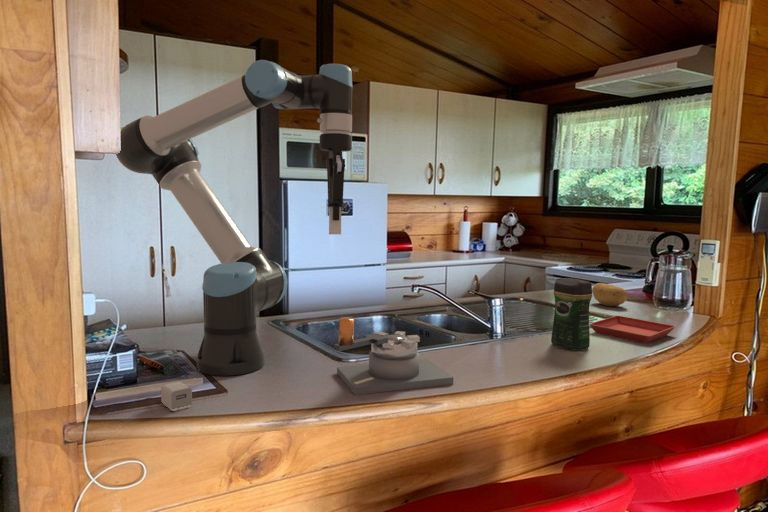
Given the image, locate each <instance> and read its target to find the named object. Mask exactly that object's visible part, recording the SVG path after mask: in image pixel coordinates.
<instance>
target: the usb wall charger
mask: <svg viewBox="0 0 768 512" xmlns="http://www.w3.org/2000/svg"><path fill="white" fill-rule="evenodd" d="M192 391H193V390H192V388H191V387H190V386H187V385H186V384H184V383H183V382H181V381H175V382H170V383H167V384H163V385H162V386H161V388H160V394H161V395H160V397H161V399H160V401H161V402H162V403H163V404H164V405H166V406H167V407H169V408H170V409H175V408H180V407H184V406H188V405H192V406H193V392H192ZM162 403H161V404H162ZM164 405H163V406H164Z"/></svg>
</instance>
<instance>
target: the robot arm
mask: <svg viewBox="0 0 768 512" xmlns="http://www.w3.org/2000/svg"><path fill="white" fill-rule="evenodd" d="M352 73H353V71H352V69H351V68H350V67H349V66H348V65H345V64H342V63H327V64H322V65H321V66H320V67H319V72H318V74H314V75H300V74H299V75H298V74H297V73H295V72H293V71H291V70H287V69H286V68H284V67H282V66H281V65H279V64H278V63H276V62H274V61H270V60H266V59H259V60H256V61H254V62H252V63H251V64H250V65H249V67H248V68H247V69H246V72H245V74H243V75H241V76H238V77H237V78H235V79H233V80H230V81H228V82H226V83H224V84H222V85H220V86H217V87H216V88H213V89H212V90H209V91H207V92H205V93H203V94H201V95H198V96H196V97H194V98H192V99H190V100H187V101H184V102H183V103H181V104H178V105H176V106H173V108H169V109H168V110H166V111H164V112H161V113H159V114H157V115H155V116H151V115H147V114H146V115H144V116H142V117H139V118H136V119H135V120H134V121H131V122H129V123H128V124H126V125H124V126H123V127H122V128H121V129H120V130H121V151H120V153H118V154H116V153H115V156H116V157H117V160H118V161H119V163H120V164H121V165H122V166H123V167H125V168H126V169H128V170H129V171H131V172H134V173H136V174H144V175H145V174H147V175H151V176H152V177H153V178H154V180H155V182H156V183H157V184H158V186H159V187H160V188H161V189H162V190H166V191H170V192H171V193H172V195H173V196H174V197H175V199H176V201H177V202H178V203H179V205H180V206H181V208H182V209H183V211H184V212H185V213H186V215H187V217H189V219H190V221H191V222H192V224H193V225H194V226H195V228H196V229H197V231H198V232H199V234H200V235H201V237H202V238H203V239H204V241H205V242H206V244H207V245H208V247H209V248H210V250H211V251H212V252H213V254H214V255H215V257H216V258H217V259H218V261H219V262H220V263H218V264H215V265H212V266H210V267H208V268H207V269H206V270H205V271H204V273H203V281H202V286H201V289H202V295H203V298H202V299H203V337H202V340H201V344H200V346H199V350H198V353H197V356H196V369H197V368H198V369H199V370H200V371H201V372H200V371H199V372H200V373H203V374H206V375H210V376H211V375H212V376H217V377H218V376H221V377H223V376H224V377H225V376H226V377H227V376H238V375H245V374H248V373H250V374H251V373H253V372H255V371H259V370H260V369H262V368H263V367H264V366H265V352H264V350H263V348H262V347H263V346H262V343H261V341H260V339H259V335H258V333H257V313H259V312H261V311H263V310H267V309H270V308H272V307H273V306H274V305H276V304H278V303H279V302H280V301H282V299H283V298H284V297H285V295H286V293H287V290H288V283H289V280H288V276H287V274H286V271H285V269H284V267H282V266H281V265H280V264H279V263H277V262H276V261H273V260H269V259H268V258H267V256H266V254H265V253H264V251H263V250H262V249H261V248H259V247H255V246H254V247H253V246H252V245H251V244H250V241H248V239H247V238H246V237H245V235H244V233H243V232H242V231H241V229H240V228H239V226H238V225H237V224H236V222H235V221H234V220H233V218H232V216H231V215H230V213H229V212H228V211H227V209H226V208H225V207H224V205H223V204H222V202H221V201H220V199H219V198H218V197H217V195H216V194H215V192H214V191H213V189H212V188H211V187H210V185H209V183H208V182H207V181H206V180H205V178H204V177H203V175H202V174H201V168H202V163H201V162H200V161H199V157H198V156H199V150H198V147H197V144H196V143H195V141H193V138H196V137H198V136H200V135H202V134H205V133H206V132H209V131H211V130H213V129H216V128H217V127H220V126H223V125H224V124H227V123H228V122H231V121H233V120H235V119H237V118H240V117H242V116H244V115H248V113H251V112H254V111H257V110H258V109H261V108H263V107H266V106H267V105H270V104H272V106H273V107H274V108H275V109H278V110H280V109H281V110H288V111H289V110H300V109H301V110H303V109H319V117H318V118H317V120H316V122H317V123H319V131H320V132H321V134H320V135H319V150H320V151H324V152H328V158H326V159H325V160H326V161H325V166H326V167H325V168H326V176H327V207H328V235H342V207H343V205H344V188H345V187H344V186H345V185H344V184H345V182H344V181H345V171H346V170H345V169H346V158H344V156H343V152H346V153H347V152H351V151H352V147H353V146H352V145H353V144H352V143H353V142H352V141H353V140H352V136H351V133H352V132H353V113H352V111H353V88H354V86H353V74H352Z"/></svg>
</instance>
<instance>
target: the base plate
mask: <svg viewBox="0 0 768 512" xmlns="http://www.w3.org/2000/svg"><path fill="white" fill-rule="evenodd" d="M336 374H337V375H338V377H339V378H341V381H342V382H344V384H345V385H346V386H347V387H348V388H349V390H350V391H351V392H352V394H353V395H355V396H357V395H365V394H367V395H368V394H373V393H383V392H393V391H402V390H404V391H405V390H411V389H419V388H431V387H438V386H440V387H441V386H448V385H454V376H452V375H451V374H449V373H448V372H447V371H446V370H444V369H443V368H441V367H440V366H438V365H437V364H435V363H433V362H432V361H431V360H430V359H428V358H422V359H421V358H420V353H419V352H418V351H417V355H416V356H415V357H412V358H409V359H401V360H391V359H383V358H379V357H376V356H374V355H372V353H371V351H369V352H368V363H363V364H354V365H343V366H342V365H341V366H336Z"/></svg>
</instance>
